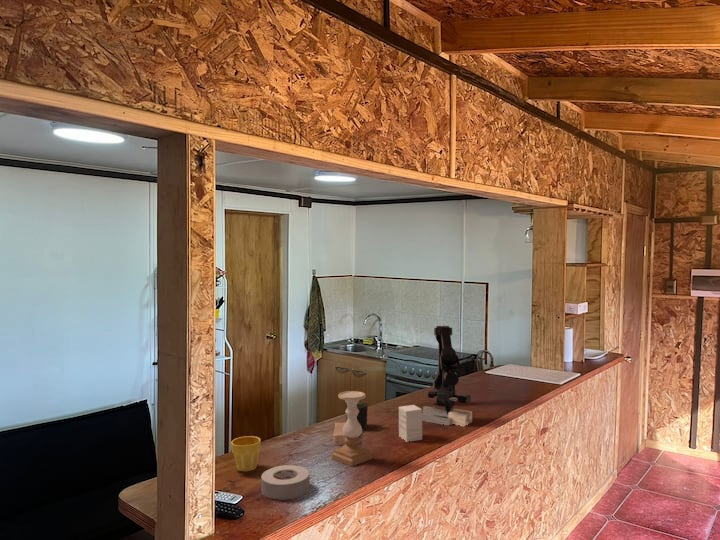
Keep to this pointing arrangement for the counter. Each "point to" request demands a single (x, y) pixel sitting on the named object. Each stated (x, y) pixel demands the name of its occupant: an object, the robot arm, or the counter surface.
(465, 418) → the block
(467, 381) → the counter surface
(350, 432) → the candle holder
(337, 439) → the brick
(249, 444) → the plant pot
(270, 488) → the tape roll
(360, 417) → the pen holder
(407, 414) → the supplement box
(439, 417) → the chute
